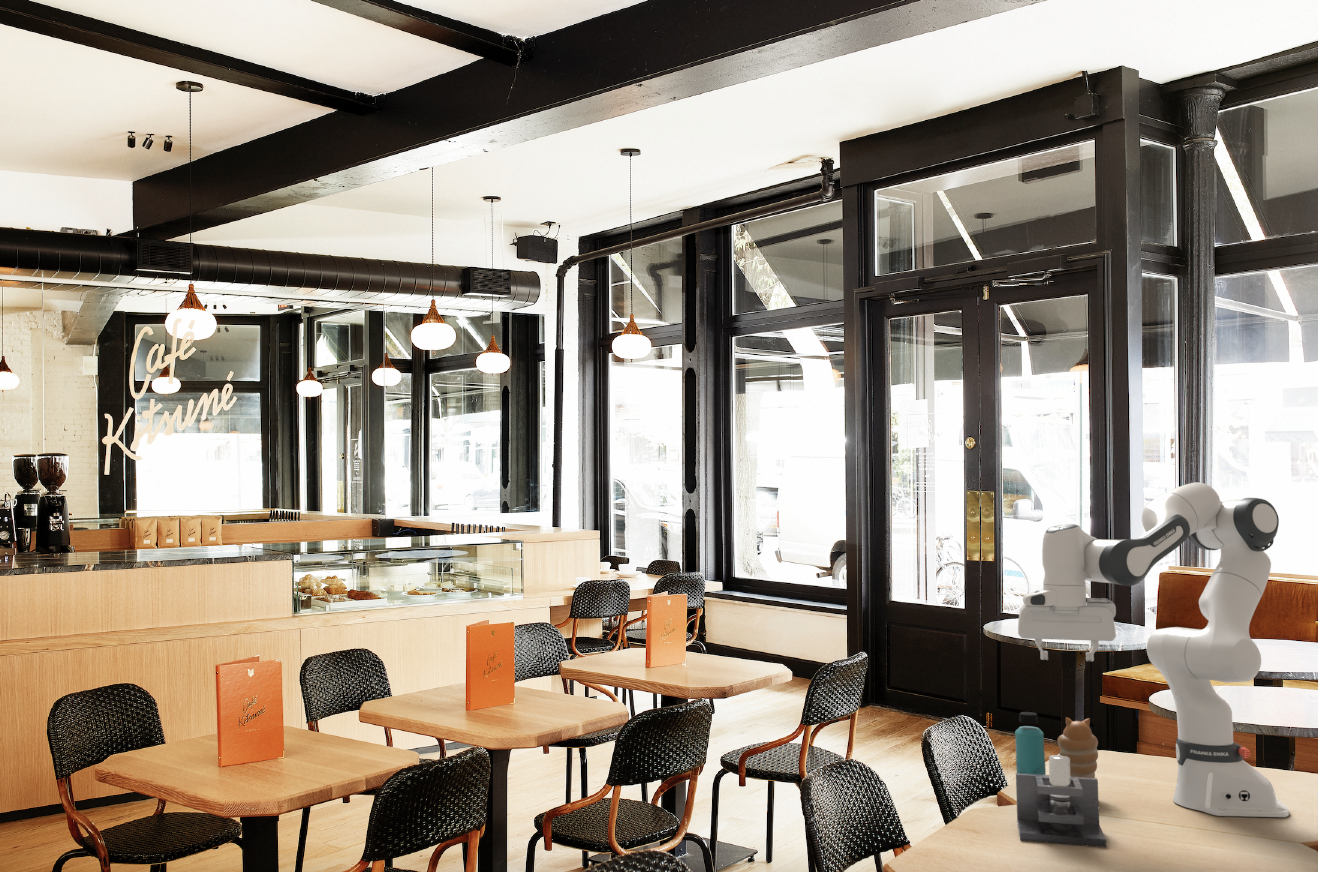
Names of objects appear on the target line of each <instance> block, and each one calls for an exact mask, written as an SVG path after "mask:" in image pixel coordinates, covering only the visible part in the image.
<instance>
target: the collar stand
mask: <svg viewBox="0 0 1318 872" xmlns="http://www.w3.org/2000/svg"><path fill="white" fill-rule="evenodd" d="M1098 781H1099V780H1098V778H1097V777H1095V778H1087V777H1071V776H1070V787H1066V786H1051V785H1049V774H1045V775H1040V774H1024V773H1017V772H1016V773H1015V788H1016V789H1015V790H1016V795H1015V796H1016V823H1018V824H1017V828H1018V829H1019V830H1018V829H1017V830H1018V836H1019V840H1020V841H1023V842H1034V843H1036V842H1035V841H1037V842H1038V843H1046V842H1047V844H1060V845H1061V844H1062V845H1071V844H1074V845H1073V846H1084V845H1085V846H1086V845H1088V846H1086V847H1095V846H1097V848H1107V839H1106V836H1105V833H1104V832H1103V829H1102V826H1101V825H1100V806H1099V805H1100V804H1099V803H1100V801H1099V782H1098ZM1049 794H1050V795H1064V796H1071V801H1070V803H1071V815H1069V814H1055V813H1050V799H1049ZM1050 822H1052V823H1065V824H1071V829H1070V830H1057V829H1054V828H1051V827H1050ZM1085 846H1084V847H1085Z"/></svg>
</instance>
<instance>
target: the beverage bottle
mask: <svg viewBox="0 0 1318 872" xmlns="http://www.w3.org/2000/svg"><path fill="white" fill-rule="evenodd" d="M1018 721H1019V723H1023V724H1028V725H1023V726H1019V727H1018V728H1017V729H1016V730H1015V731H1014V736H1015V765H1016V766H1015V768H1016V773H1024V774H1040V775H1046V773H1047V770H1046V767H1047V765H1046V758H1045V757H1046V753H1045V741H1044V738H1045V737H1044V736H1045V735H1044V732H1043V731H1042V730H1041V729H1040V728H1039V727H1036V726H1031V724H1032V725H1033V724H1035V725H1036V724H1038V723H1039V717H1038V713H1037V712H1032V711H1031V712H1030V711H1021V712H1020V713H1019V719H1018ZM1029 725H1030V726H1029Z"/></svg>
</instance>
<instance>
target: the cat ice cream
mask: <svg viewBox="0 0 1318 872" xmlns="http://www.w3.org/2000/svg"><path fill="white" fill-rule="evenodd" d="M1090 723H1091V718H1090V717H1089V718H1085V719H1084V720H1082V721H1080V720H1074V721H1073V720H1072V719H1071V718H1070V717H1067V716H1066V717H1065V724H1066V726H1065V728H1064V729H1063V733H1062V734H1061V735H1059V736H1058V737H1057V745H1058V748H1059V749H1060V751H1059V755H1060V756H1066V757H1069V758H1070V776H1071V777H1087V778H1096V771H1097V768H1098V763H1097V760H1098V758H1099V751H1098V749H1097V747H1098V745H1099V741H1098V738H1097V737H1096V736H1095V735H1094V734H1093V733H1092V729H1091V727H1090Z"/></svg>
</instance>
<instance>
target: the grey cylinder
mask: <svg viewBox="0 0 1318 872" xmlns="http://www.w3.org/2000/svg"><path fill="white" fill-rule="evenodd" d="M1048 764H1049V765H1048V773H1049V774H1048V775H1049V785H1051V786H1066V787H1070V758H1069V757H1066V756H1060V755H1058V754H1054V755H1053V754H1052V755H1049V756H1048ZM1049 799H1050V813H1055V814H1069V815H1071V803H1070V801H1071V796H1064V795H1050V794H1049ZM1050 827H1051V828H1054V829H1057V830H1070V829H1071V824H1065V823H1052V822H1050Z"/></svg>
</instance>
